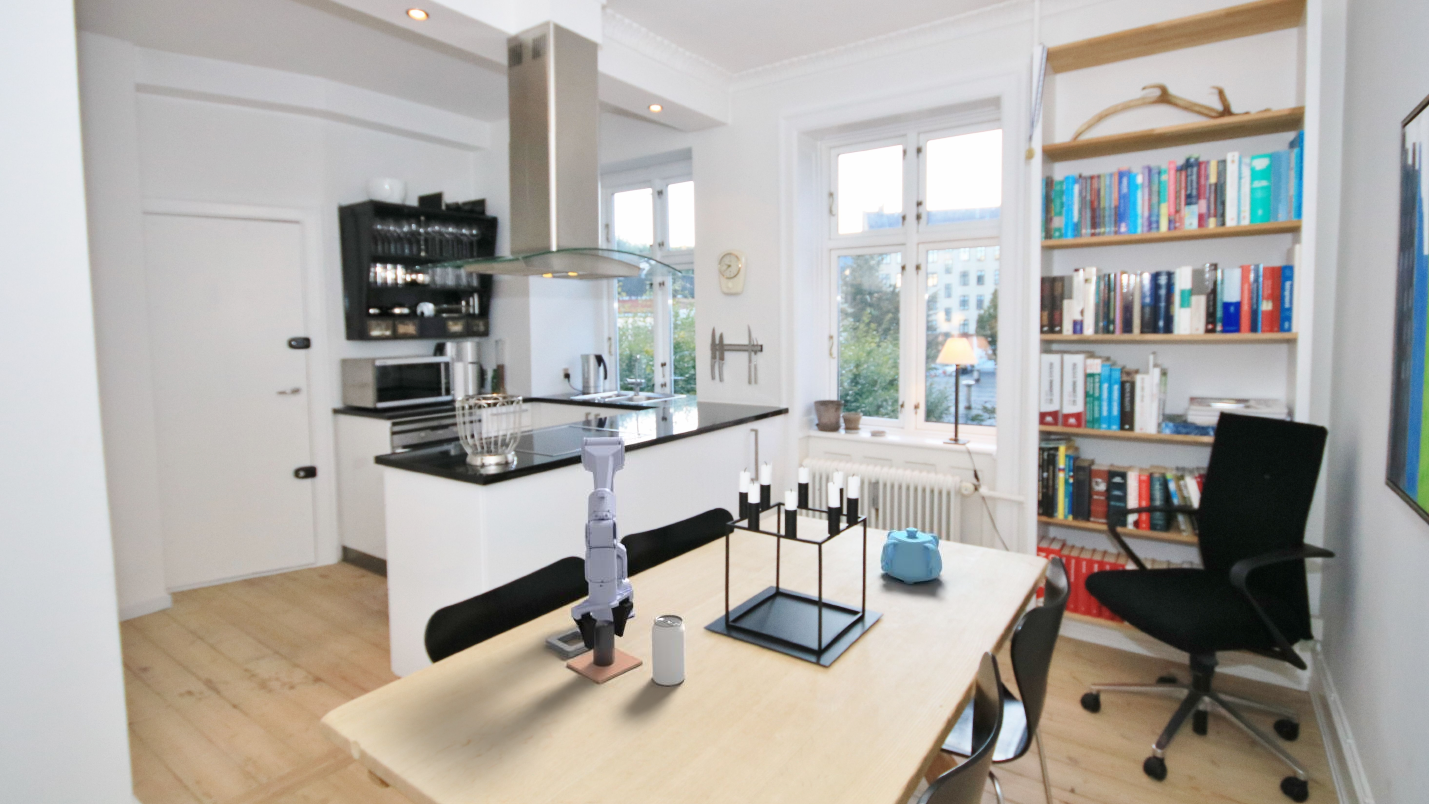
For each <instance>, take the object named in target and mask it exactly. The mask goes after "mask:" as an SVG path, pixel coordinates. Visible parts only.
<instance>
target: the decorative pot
mask: <svg viewBox="0 0 1429 804" xmlns="http://www.w3.org/2000/svg"><path fill="white" fill-rule="evenodd" d="M939 545H940V539H939V536H938V535H936V534H935V533H924V532H921V531H919V529H918V528H916V527H907V528H905V530H897V529H892V530H890V531H888V533H887V535H886V542H885V543H884V544H883V546H882V551H881V556H880V565H881V566H880V568H881V570H882V572H884V573H887V574H888V575H889V576H891V577H893V578H895V579H898V580H902V581H903V583H905V584H909V585H913V584H914V583H919V582H925V581H932V580H935V579H937V577H939V576H940V574H941V573H942V570H943V561H942V560H943V559H942V556H941V552H940V550H939Z"/></svg>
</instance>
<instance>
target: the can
mask: <svg viewBox="0 0 1429 804" xmlns="http://www.w3.org/2000/svg"><path fill="white" fill-rule="evenodd" d="M683 621H684V620H683V618H682V617H681V616H679V615H675V614H663V615H659V616H658V617H657V616H656V618H654V620H653V625H652V628H651V646H652V647H651V648H652V649H651V650H652V658H651V661H652V664H651V665H652V679H653V681H654V682H655V684H657V685H659V686H665V687H672V686H676V685H677V686H678V685H680V684H681V683H683V682H684V680H685V678H686V628H685V627H686V626H685V625H684V623H683Z"/></svg>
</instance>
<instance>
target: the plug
mask: <svg viewBox="0 0 1429 804" xmlns="http://www.w3.org/2000/svg"><path fill="white" fill-rule="evenodd" d="M615 645H616V644H615V635H614V622H613V621H610V620H599V621H597V622H596V626H595V632H594V649H592V652H593V663H594V664H595V665H596V666H600V667H604V666H609V665H612V664H613V663H614V662H615V648H616V647H615Z"/></svg>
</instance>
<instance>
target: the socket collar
mask: <svg viewBox="0 0 1429 804" xmlns="http://www.w3.org/2000/svg"><path fill="white" fill-rule="evenodd" d="M575 638H578V639H579V640H581V641H582V642H579V643H577V644H574V645H572V646H570V645H568V644H566V643H565V642H568V641H571V640H574V639H575ZM545 647H548V648H549V649H551V650H552V651H555V652H557V653H559V654H561V655H563V656H564V657H566V658H568V659H571V658H574V657H575V656H576V657H577V656H579V655H580V654H583V653H585V652H588V651H591V650H590V649H588V648H586V647H585V645H584V641H583V638H582V635H581V632H580V630H579V628H578V626H576V627H575V628H571V629H568V630H566V631H563V632H561V633H558V634H555V635H552V636H551V637H550V636H549V637H548V638H546V639H545Z"/></svg>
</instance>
